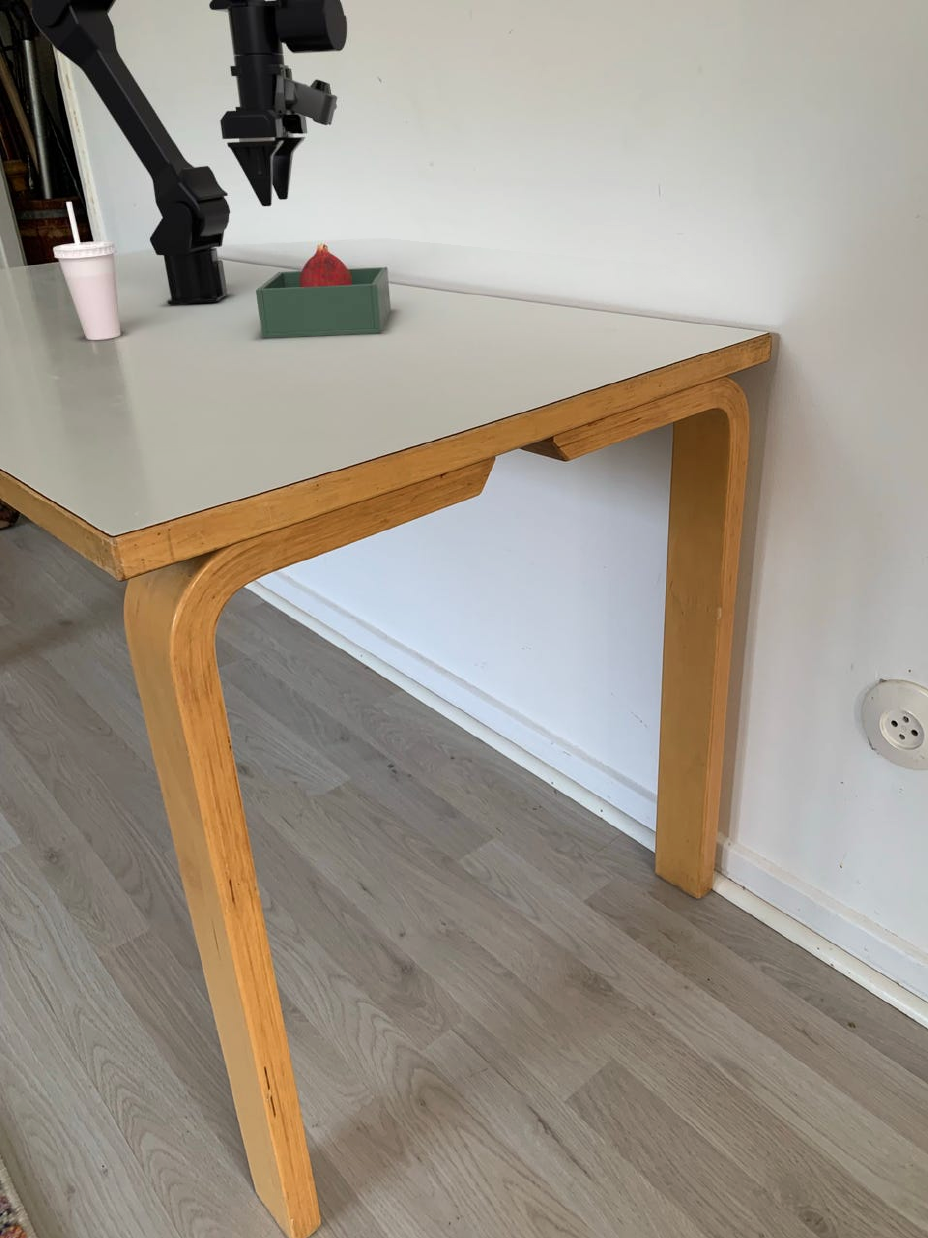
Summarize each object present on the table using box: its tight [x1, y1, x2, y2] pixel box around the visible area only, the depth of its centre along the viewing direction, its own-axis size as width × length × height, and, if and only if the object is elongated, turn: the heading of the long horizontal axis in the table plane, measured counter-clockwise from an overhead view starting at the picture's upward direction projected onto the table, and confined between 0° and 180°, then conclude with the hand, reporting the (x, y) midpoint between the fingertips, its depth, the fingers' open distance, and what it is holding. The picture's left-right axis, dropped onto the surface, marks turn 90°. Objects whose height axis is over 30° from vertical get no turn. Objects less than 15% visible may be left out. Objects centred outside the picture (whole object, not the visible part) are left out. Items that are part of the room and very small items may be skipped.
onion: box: [300, 242, 352, 287], centre depth 106 cm, size 6×6×8 cm
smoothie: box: [52, 201, 122, 341], centre depth 104 cm, size 6×6×14 cm
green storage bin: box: [255, 266, 392, 339], centre depth 107 cm, size 13×13×5 cm
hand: (275, 202), depth 117 cm, fingers open, 9 cm apart
